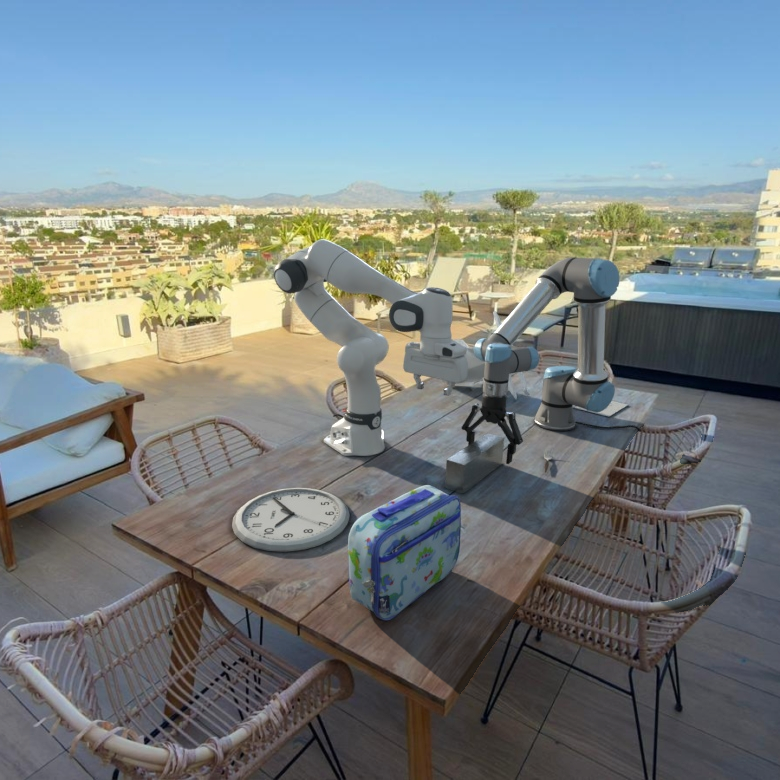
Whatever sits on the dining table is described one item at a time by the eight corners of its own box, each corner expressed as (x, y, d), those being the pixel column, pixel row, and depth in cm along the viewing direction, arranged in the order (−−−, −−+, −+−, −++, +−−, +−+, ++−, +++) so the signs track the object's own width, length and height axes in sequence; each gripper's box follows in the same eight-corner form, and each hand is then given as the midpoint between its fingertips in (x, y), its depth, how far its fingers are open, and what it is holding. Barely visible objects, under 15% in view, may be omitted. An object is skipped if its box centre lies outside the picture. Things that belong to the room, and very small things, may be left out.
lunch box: (378, 635, 98) (379, 537, 91) (341, 606, 105) (340, 513, 99) (464, 574, 115) (470, 488, 109) (427, 553, 122) (431, 471, 116)
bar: (485, 458, 173) (487, 433, 171) (502, 463, 170) (504, 437, 167) (445, 488, 153) (446, 459, 151) (462, 494, 150) (464, 465, 147)
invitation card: (608, 416, 214) (573, 407, 224) (608, 416, 214) (573, 408, 224) (628, 404, 229) (594, 396, 238) (628, 405, 229) (594, 397, 238)
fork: (540, 473, 163) (541, 467, 163) (544, 453, 178) (545, 448, 177) (549, 474, 162) (550, 468, 162) (552, 454, 177) (553, 449, 176)
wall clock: (350, 543, 123) (219, 547, 120) (350, 549, 123) (220, 553, 121) (349, 483, 151) (243, 486, 149) (349, 488, 152) (243, 491, 149)
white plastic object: (461, 429, 252) (437, 405, 227) (444, 352, 274) (420, 323, 250) (535, 404, 240) (518, 377, 215) (510, 326, 262) (492, 293, 237)
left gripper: (399, 342, 153) (398, 387, 157) (460, 353, 141) (457, 401, 145) (411, 339, 158) (410, 382, 162) (472, 349, 146) (468, 396, 150)
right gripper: (453, 388, 166) (449, 450, 172) (528, 405, 152) (521, 471, 158) (465, 383, 172) (461, 443, 178) (538, 399, 158) (530, 463, 164)
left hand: (433, 391), depth 153 cm, fingers open, 8 cm apart
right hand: (489, 456), depth 168 cm, fingers open, 13 cm apart
